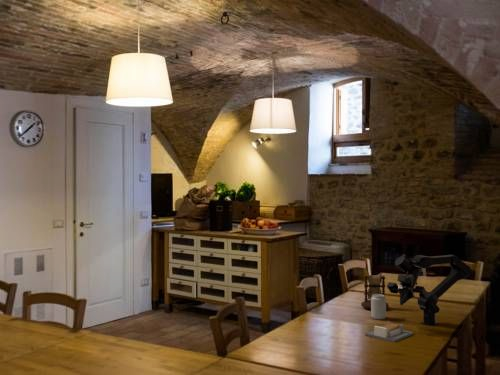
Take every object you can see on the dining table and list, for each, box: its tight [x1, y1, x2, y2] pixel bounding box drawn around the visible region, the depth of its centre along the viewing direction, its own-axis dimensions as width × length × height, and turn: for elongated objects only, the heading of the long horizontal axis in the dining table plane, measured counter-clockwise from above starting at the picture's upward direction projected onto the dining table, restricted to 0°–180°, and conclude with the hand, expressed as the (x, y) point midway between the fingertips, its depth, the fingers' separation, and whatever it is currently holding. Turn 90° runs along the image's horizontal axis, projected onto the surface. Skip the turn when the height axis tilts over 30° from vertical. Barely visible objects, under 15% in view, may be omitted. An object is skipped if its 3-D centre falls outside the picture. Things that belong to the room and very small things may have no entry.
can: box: [370, 293, 387, 320], centre depth 281 cm, size 8×8×12 cm
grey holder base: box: [364, 321, 414, 343], centre depth 250 cm, size 17×15×5 cm
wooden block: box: [381, 322, 400, 332], centre depth 250 cm, size 1×5×11 cm
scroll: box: [361, 271, 389, 311], centre depth 302 cm, size 15×15×20 cm
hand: (401, 304), depth 257 cm, fingers closed
